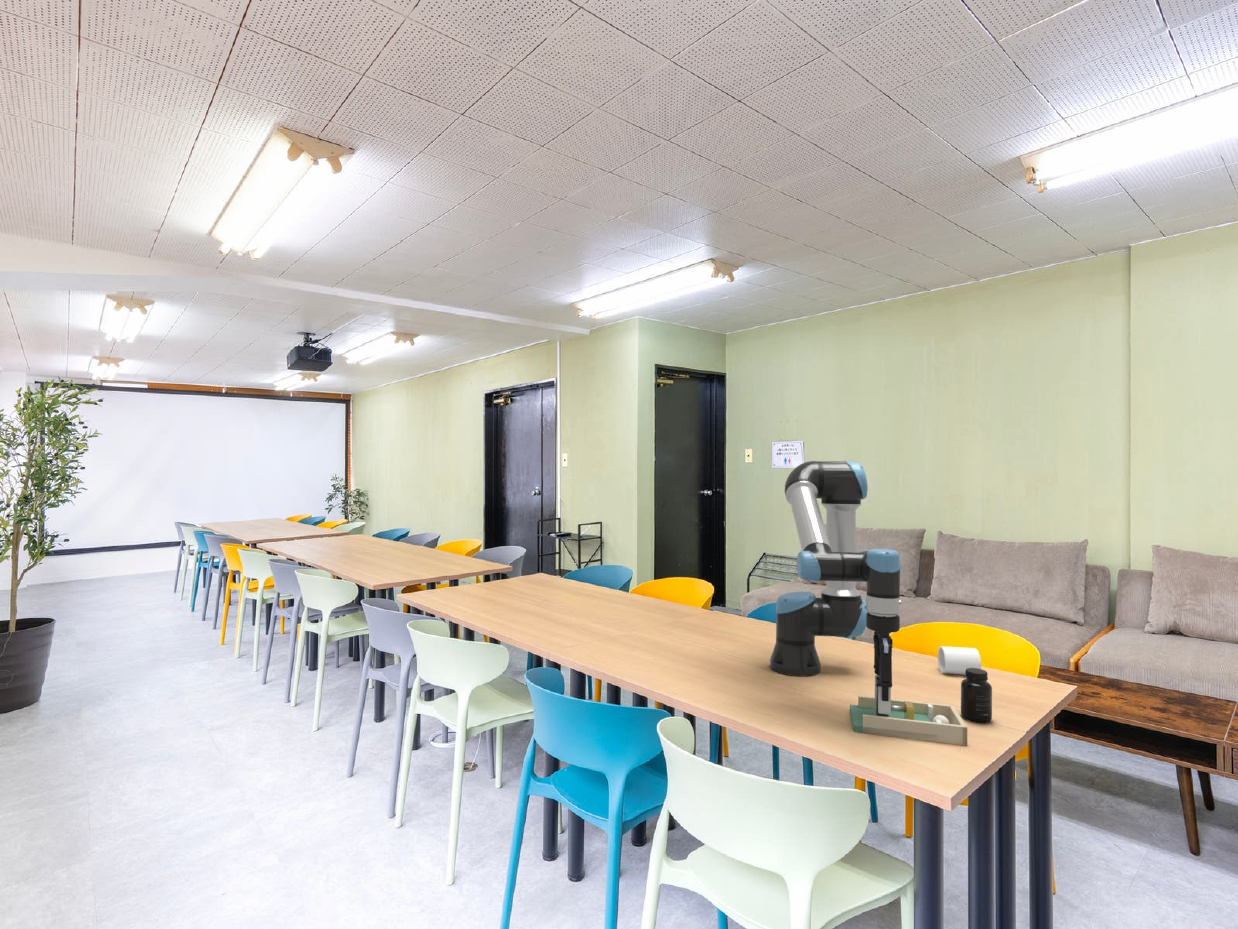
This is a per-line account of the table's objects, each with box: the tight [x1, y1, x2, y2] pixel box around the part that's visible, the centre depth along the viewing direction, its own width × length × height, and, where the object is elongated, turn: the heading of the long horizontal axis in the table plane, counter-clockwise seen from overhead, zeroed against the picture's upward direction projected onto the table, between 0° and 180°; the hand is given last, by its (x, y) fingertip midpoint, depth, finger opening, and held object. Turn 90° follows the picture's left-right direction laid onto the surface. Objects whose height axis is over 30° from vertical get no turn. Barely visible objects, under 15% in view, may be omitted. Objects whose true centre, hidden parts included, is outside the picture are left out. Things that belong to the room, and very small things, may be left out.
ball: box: [933, 715, 950, 724], centre depth 149 cm, size 4×4×4 cm
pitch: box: [849, 695, 968, 746], centre depth 151 cm, size 24×14×4 cm, turn 74°
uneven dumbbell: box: [876, 677, 914, 720], centre depth 152 cm, size 8×4×9 cm, turn 74°
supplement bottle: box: [960, 668, 993, 724], centre depth 157 cm, size 7×7×12 cm
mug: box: [937, 645, 982, 676], centre depth 194 cm, size 12×10×8 cm
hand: (882, 707), depth 153 cm, fingers open, 7 cm apart
